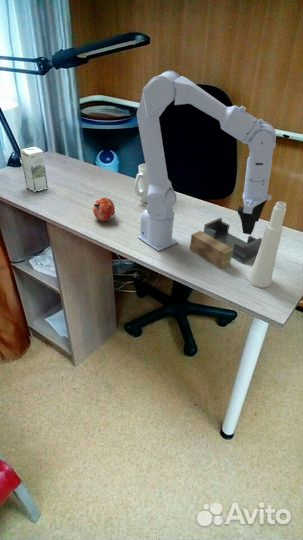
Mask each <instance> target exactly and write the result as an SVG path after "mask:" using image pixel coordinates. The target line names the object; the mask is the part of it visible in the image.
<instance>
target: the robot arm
mask: <svg viewBox="0 0 303 540" xmlns="http://www.w3.org/2000/svg"><path fill="white" fill-rule="evenodd" d="M172 102H174V103H173V105H175V106H179V105H187V104H188V105H192V106H193V107H194V108H197V109H198V110H200V111H202V112H203V113H205V114H206V115H208V116H211V118H214V119H215V120H217V121H219V125H220V129H221V130H222V131H224V132H225V133H226V134H228V135H230V136H231V137H233V138H235V140H238V141H239V142H241V143H243V144H245V145H247V146H248V150H249V152H248V153H249V154H248V155H249V156H248V157H247V160H246V170H245V176H244V178H245V179H244V186H243V192H242V199H243V200H242V201H243V206H241V205H240V206H239V207H238V208H237V214H238V216H239V218H240V221H241V222H240V223H241V228H242V233H243V234H245V235H248V236H252V233H254V232H253V231H254V229H255V226H256V223H257V222H259V221H260V218H261V215H262V214H263V213H262V212H263V211H264V210H263V209H264V207H265V204H266V203H267V201H271V200H272V199H273V198H272V197H273V196H272V195H271V194H268V190H269V184H270V179H271V172H272V165H273V156H274V150H275V148H276V146H277V143H276V142H277V134H276V133H277V132H276V130H275V128H274V126H272V125H271V123H270V122H267V121H264V120H263V119H262V118H259V119H258V118H256V117H255V116H254V115H252V114H250V113H249V112H247V111H246V110H247V107H245V106H244V105H241V106H240V107H239V106H238V105H232V106H226V105H225V104H224V103H222V102H221V101H219V100H218V99H217V98H215V97H214V96H212V95H211V94H210V93H208V92H206V90H204V88H203V89H202V88H201V87H200V86H198V85H197V84H196V83H194V82H193V81H192V80H190V79H188V78H187V77H185V76H183V75H181V76H180V74H179V73H177V72H175V71H173V70H166V71H164V72H162V73H161V74H159V75H157V76H153V77H152V78H151V79H150V80H149V81H148V83H147V84H146V85H145V86H144V87H143V89H142V95H141V98H140V101H139V105H138V108H137V111H136V119H137V124H138V125H137V126H138V130H139V136H140V142H141V147H142V152H143V158H144V162H145V163H144V164H146V169H147V175H148V180H149V189H148V195H147V197H148V203H146V209H145V210H144V211H143V212H142V214H141V216H140V230H139V231H140V235H138V236H137V238H138V239H139V240H141V241H143V243H145V244H147V245H148V246H150V247H151V248H153V249H154V250H155V251H158V252H159V251H162V250H164V249H166V248H168V247H171V246H173V245H175V244H177V243H178V242H179V241H178V240H177V239H176V238H174V237H173V232H174V231H173V229H174V220H175V219H174V218H175V212H174V210H173V206H174V205H175V204H176V201H177V194H176V192H175V190H174V188H173V186H172V182H171V180H170V179H169V178H168V177H169V176H168V171H167V164H166V158H165V151H164V145H163V137H162V131H161V124H160V117H161V115H162V114H163V112H164V111H165V110H166V108H167V107H168V106H169V105H170V104H171V103H172Z"/></svg>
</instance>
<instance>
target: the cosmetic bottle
mask: <svg viewBox="0 0 303 540" xmlns="http://www.w3.org/2000/svg"><path fill="white" fill-rule="evenodd" d="M286 213H287V203H286V202H284V201H277V202H275V205H274V206H273V209H272V212H271V216H270V220H269V223H267V225H266V227H265V230H264V232H263V236H262V238H261V239H262V241H261V245H260V248H259V251H258V254H257V255H256V257H255V260H254V263H253V265H252V268H251V269H250V271H249V274H248V276H247V280H248V282H249V283H250V284H251V285H252V286H254V287H257V288H261V289H263V288H268V287H270V286H271V285H272V281H273V273H274V269H275V268H274V266H275V263H276V259H277V258H276V257H277V254H278V250H279V246H280V241H281V237H282V233H283V228H284V227H283V226H282V225H283V222H284V219H285V215H286Z"/></svg>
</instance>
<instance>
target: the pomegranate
mask: <svg viewBox="0 0 303 540" xmlns="http://www.w3.org/2000/svg"><path fill="white" fill-rule="evenodd" d="M115 209H116V208H115V204H114V202H113V201H112V200H111V198H108V197H102V198H100V199H98V200H96V202H95V203H94V204H93V208H92V212H93V215H94V216H95V217H94V218H97V219H98V220H99V221H100V222H104V223H105V222H109V221H111V220H112V216H115V217H116V215H115V213H116V210H115Z"/></svg>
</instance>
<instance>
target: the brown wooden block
mask: <svg viewBox="0 0 303 540" xmlns="http://www.w3.org/2000/svg"><path fill="white" fill-rule="evenodd" d="M190 236H191V237H190V244H189V250H190V251H192V252H193V253H195V254H196V255H198V256H200V257H202V258H203V259H205V260H206V261H208V262H209V263H210V264H212V265H215V266H216V267H218V268H219V269H224V268H226V267H228V266H229V265H231V261H232V252H233V249H232V248H230V247H229V246H227V245H225V244H223V243H221V242H220V241H218V240H216V239H214V238H212V237H211V236H209V235H207V234H205V233H204V231H201V230H199V231H196V232H193V233H192V234H191V235H190Z"/></svg>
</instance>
